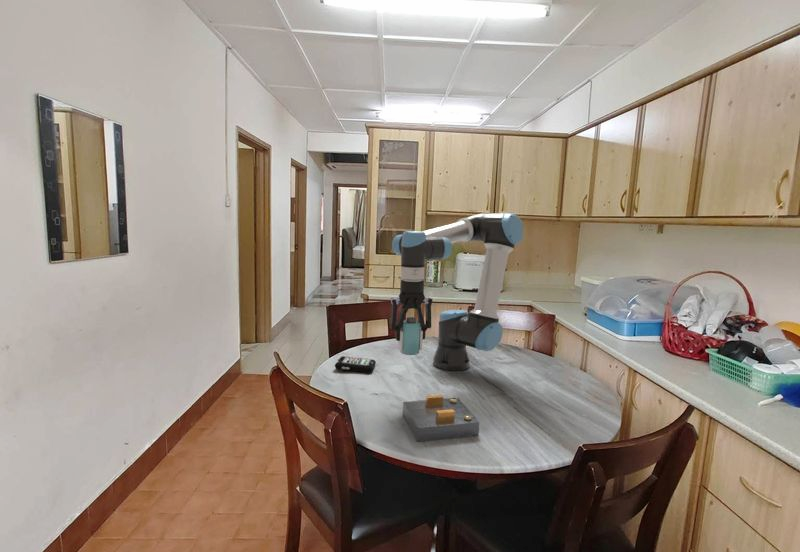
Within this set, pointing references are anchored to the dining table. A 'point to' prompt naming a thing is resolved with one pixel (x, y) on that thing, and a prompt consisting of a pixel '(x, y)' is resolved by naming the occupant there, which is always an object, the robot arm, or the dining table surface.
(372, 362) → the phone
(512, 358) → the dining table surface
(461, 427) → the fixture block
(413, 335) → the pump
